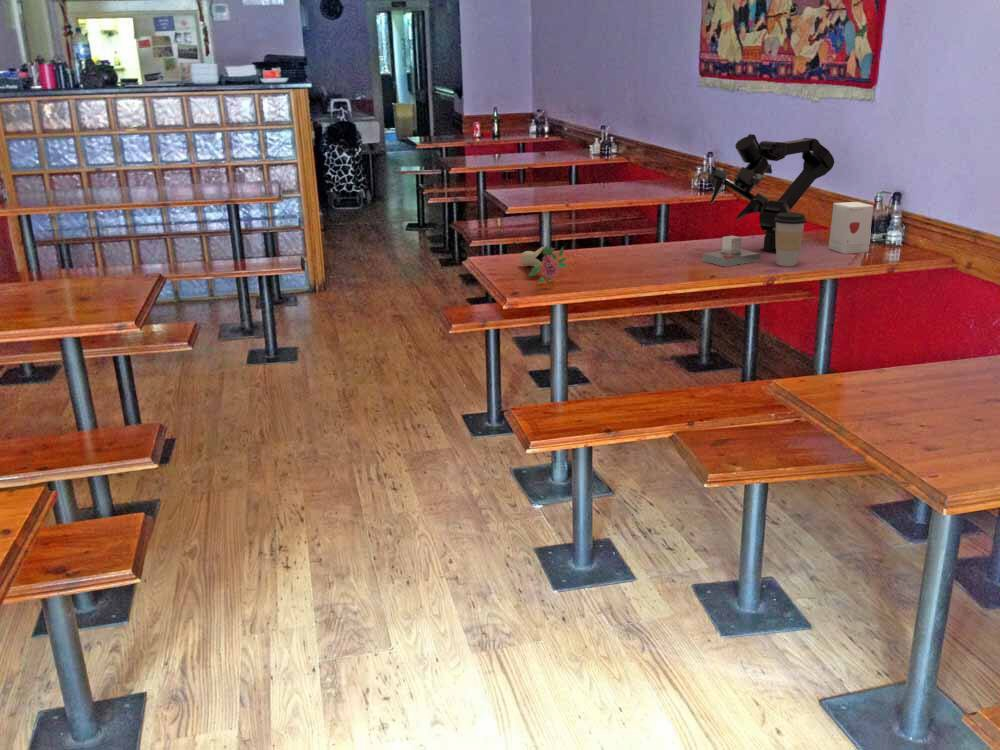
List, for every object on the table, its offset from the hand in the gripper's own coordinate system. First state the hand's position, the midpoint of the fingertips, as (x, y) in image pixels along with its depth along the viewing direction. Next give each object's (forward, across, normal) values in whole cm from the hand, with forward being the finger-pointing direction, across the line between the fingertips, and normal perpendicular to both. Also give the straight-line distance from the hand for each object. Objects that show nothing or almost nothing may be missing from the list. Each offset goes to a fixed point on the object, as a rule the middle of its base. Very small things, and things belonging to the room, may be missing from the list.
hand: (723, 211), depth 283 cm
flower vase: (+54, -28, -11) cm, 62 cm away
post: (+9, +10, +8) cm, 16 cm away
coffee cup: (+2, +24, +5) cm, 25 cm away
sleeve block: (+9, +10, +8) cm, 16 cm away
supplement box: (-22, +36, +22) cm, 48 cm away
